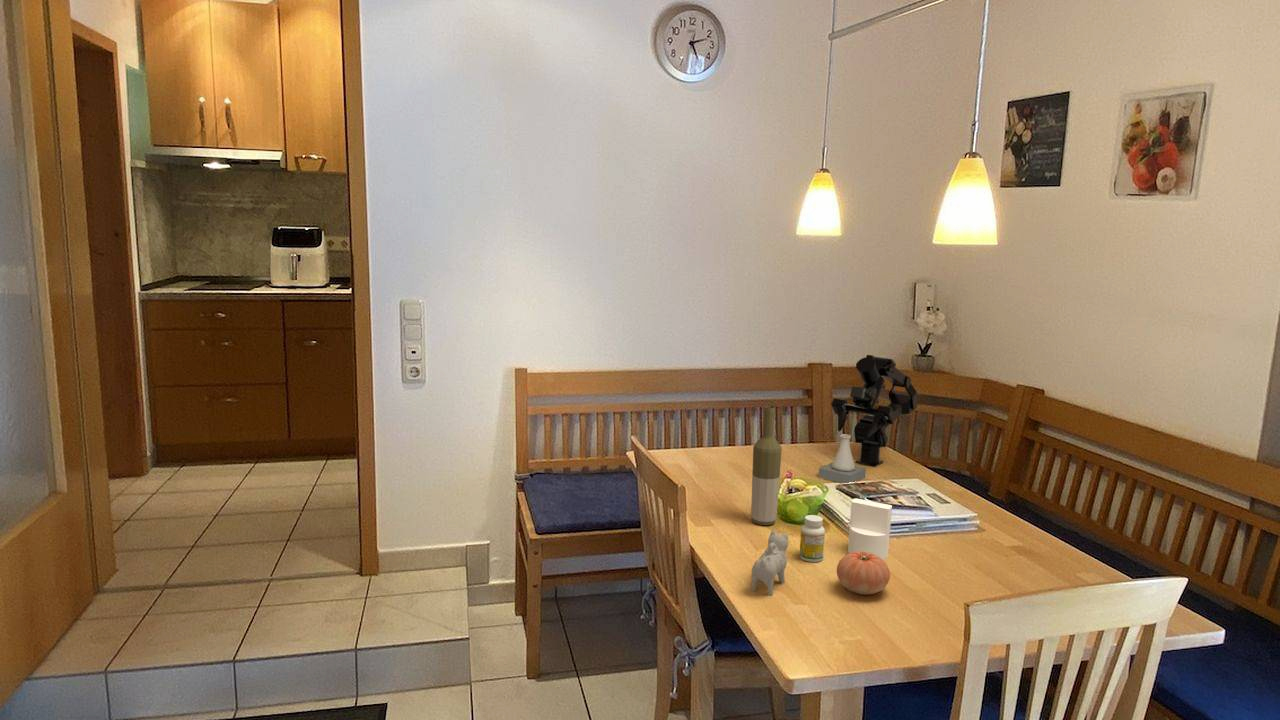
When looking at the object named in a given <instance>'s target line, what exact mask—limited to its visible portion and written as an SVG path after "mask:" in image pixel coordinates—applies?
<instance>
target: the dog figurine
mask: <svg viewBox="0 0 1280 720" xmlns="http://www.w3.org/2000/svg"><path fill="white" fill-rule="evenodd" d="M767 545H768V546H767V548H766V549H765V550H764V552H763V553H762V554H761V555H760V556H759V558H758V559H757V560H755V562H754V563H753V565H752V568H751V588H750V591H752V590H753V592H756V590H757V584H758V582H759V581H761V582H762V583H764V584H765V586H766V587H767V591H766V594H767V595H768V594H769V596H773V595H774V582H775V581H774V580H775V577H776V575H777V578H778V583H780V584H782V583H783V585H784V584H786V578H785V570H786V567H787V564H788V561H787V559H788V558H787V554H786V551H787V549H788V548H789V535H788V533H785V532H784V533H781V534H778V531H777V529H776V530H775V529H774V530H772V531H770V535H769V536H768V539H767Z"/></svg>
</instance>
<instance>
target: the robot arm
mask: <svg viewBox="0 0 1280 720" xmlns="http://www.w3.org/2000/svg"><path fill="white" fill-rule="evenodd" d="M855 368H856V370H857V373H858V375H859V377H860V379H861V381H863V385H862V386H861V387H860V386H855V385H853V386H852V387H851V390H850V395H849V397H850V398H852V399H851V400H852V402H853V403H854V404H849V403H848V401H847V399H846V398H840V397H834V398H833V399H832V400H831V402H830V405H831V408H832V410H833V412H834V413H835V414H836V415H837V418H838V419H837V431H838V432H841V431H842V430H843V428H844V426H845V423H846V421H847V420H848V415H849V413H850V412H853V413H858V414H865V415H864V416H863V417H861V418H859V421H858V422H857V423H856V425H855V426H854V441H855V443H856V444H861V445H860V446H861V447H860V458H859V459H857V460H855V464H856V463H857V464H862V465H865V466H870V467H874V468H875V467H877V466H879V465H881V464H883V463H884V460H881V459H880V453H881V448H886V447H887V445H888V436H887V434H886V431H885V429H887V428H888V427H889V426H890V425H893V424H894V423H895V421H896V420H897V419H898V418H899V417H900V416H901V415H910V414H911V413H914V411H915V410H917V408H918V403H919V402H918V393H917V390H916V389H915V387H914V386H913V384H912V380H911V376H909V375H907V374H905V373H903V372H902V371H901V370H899V369H898V368H897V365H896V362H895V361H894V360H893V358H888V357H878V356H874V355H873V354H866V356H865V357H862V358H860V359H859V360H858V361H857V362H856V364H855ZM885 380H887V381H889V382H890V383H892V387H891V389H890V391H889V392H888V403H889V404H887V405H882V404H879V402H880V398H879V397H880V394H881V393H882V391H883V390H884V389H886V382H885ZM896 387H899V388H900V387H901V388H904V389H905V391H906V393H908V394H906V393H901V392H895V389H896ZM877 404H879V405H878V406H877V408H876V405H877Z"/></svg>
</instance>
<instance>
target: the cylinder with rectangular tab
mask: <svg viewBox="0 0 1280 720" xmlns="http://www.w3.org/2000/svg"><path fill="white" fill-rule="evenodd" d="M850 503H851V504H850V517H849V519H850V520H849V529H848V531H849V533H848V543H847V545H848V546H847V552H848V554H849V553H852V552H867V553H871V554H874V555H876V556H878V557H880V558H881V559H882V560H886V559H887V558H888V556H889V548H890V547H889V546H890V545H889V544H890V535H891V521H892V510H893V505H891V504H886V503H882V502H878V501H872V500H866V499H861V498H856V497H855V498H853V499H851V502H850Z"/></svg>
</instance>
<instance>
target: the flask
mask: <svg viewBox="0 0 1280 720" xmlns="http://www.w3.org/2000/svg"><path fill="white" fill-rule="evenodd" d="M839 437H840V443H839V448H838V450H837V453H836V454H835V456H834V458H833V461H832V462H833V463H832V462H831V463H832V466H831V468H834V469H837V470H841V471H852V470H855V466H856V462H855V460H854V457H853V453H852V450H851V442H850V441H851V438H852V435H851V434H844V433H842V434H840V435H839Z"/></svg>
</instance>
